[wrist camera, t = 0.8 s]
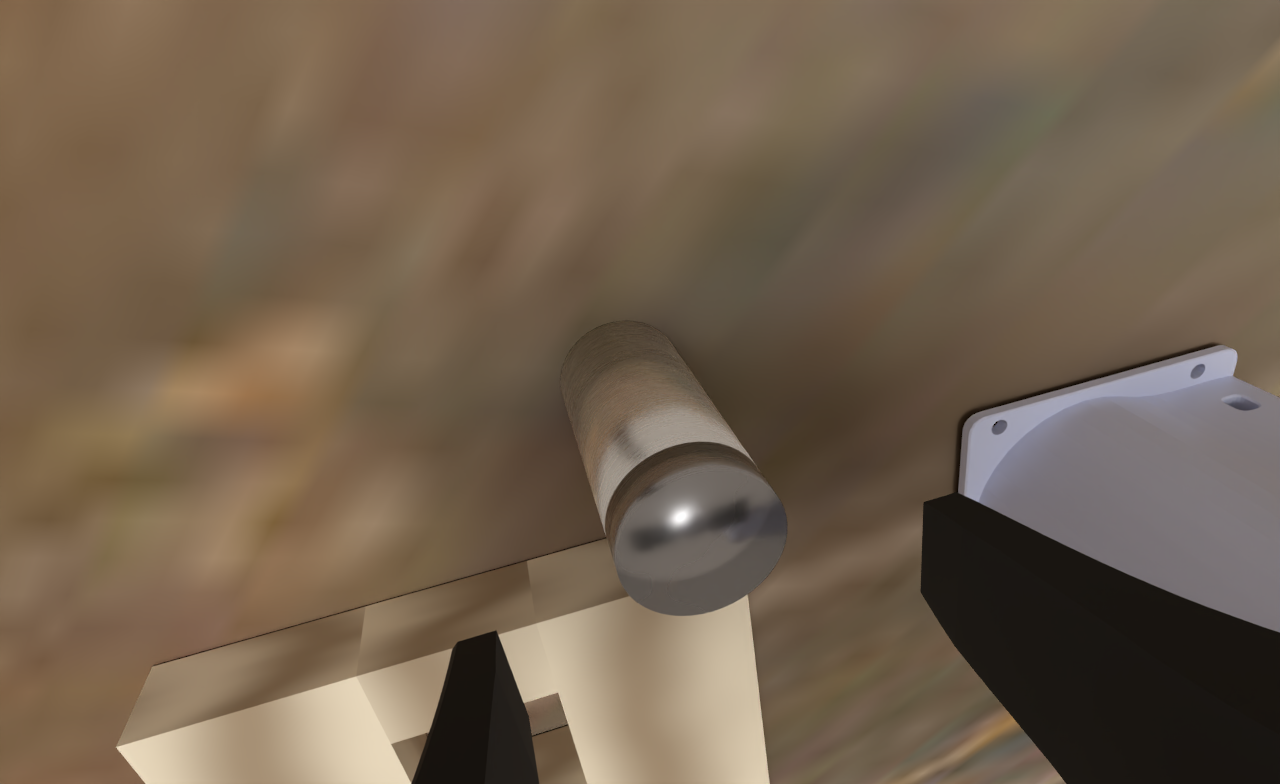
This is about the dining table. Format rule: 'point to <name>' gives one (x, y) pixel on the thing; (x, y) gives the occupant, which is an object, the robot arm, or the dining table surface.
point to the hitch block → (415, 673)
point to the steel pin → (668, 475)
